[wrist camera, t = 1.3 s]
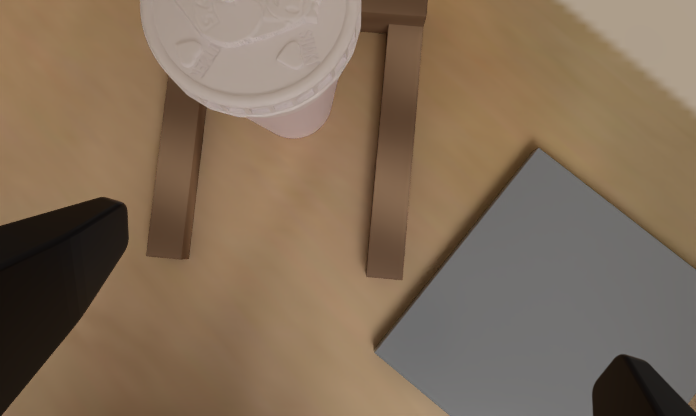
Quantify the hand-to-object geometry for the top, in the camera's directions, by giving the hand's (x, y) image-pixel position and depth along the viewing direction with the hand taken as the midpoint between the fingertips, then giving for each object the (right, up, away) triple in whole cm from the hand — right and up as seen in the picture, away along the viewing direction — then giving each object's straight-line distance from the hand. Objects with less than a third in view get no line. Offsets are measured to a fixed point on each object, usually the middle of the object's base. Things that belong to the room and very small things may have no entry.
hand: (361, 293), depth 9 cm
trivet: (+9, -4, +14) cm, 17 cm away
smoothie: (-3, +7, +15) cm, 17 cm away
